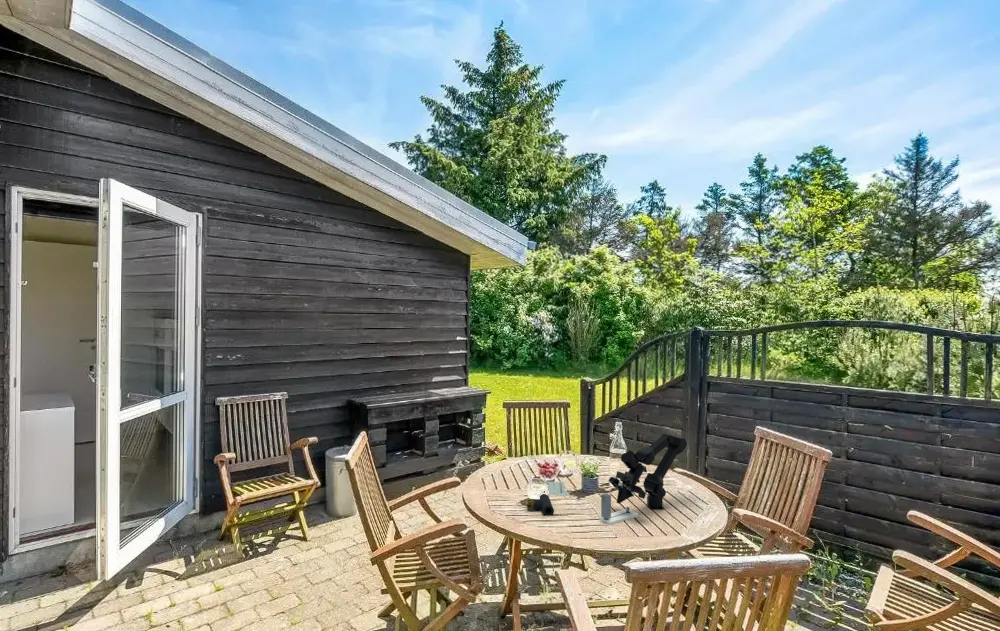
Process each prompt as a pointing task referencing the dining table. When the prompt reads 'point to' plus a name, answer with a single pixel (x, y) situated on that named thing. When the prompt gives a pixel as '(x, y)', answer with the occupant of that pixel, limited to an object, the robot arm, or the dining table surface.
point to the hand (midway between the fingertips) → (617, 503)
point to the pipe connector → (541, 505)
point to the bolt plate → (619, 516)
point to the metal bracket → (557, 488)
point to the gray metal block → (605, 505)
